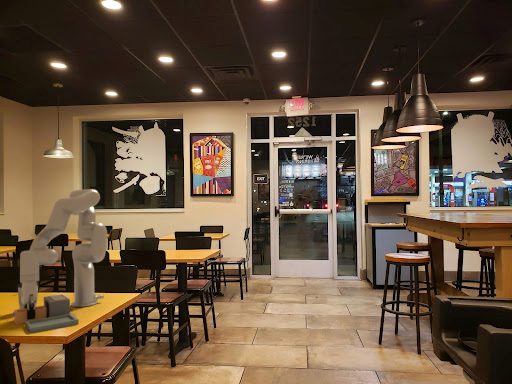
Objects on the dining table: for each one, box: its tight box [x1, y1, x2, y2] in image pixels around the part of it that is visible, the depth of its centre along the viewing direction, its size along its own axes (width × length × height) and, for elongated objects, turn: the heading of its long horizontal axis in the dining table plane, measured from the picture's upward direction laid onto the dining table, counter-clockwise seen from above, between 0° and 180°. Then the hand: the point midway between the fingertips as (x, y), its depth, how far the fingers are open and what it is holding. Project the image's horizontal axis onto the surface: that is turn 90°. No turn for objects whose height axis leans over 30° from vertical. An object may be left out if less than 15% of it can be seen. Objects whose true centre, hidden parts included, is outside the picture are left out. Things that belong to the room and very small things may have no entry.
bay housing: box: [43, 294, 71, 318], centre depth 183 cm, size 16×8×8 cm, turn 38°
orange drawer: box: [12, 305, 47, 325], centre depth 176 cm, size 13×7×5 cm, turn 125°
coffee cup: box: [17, 281, 39, 309], centre depth 192 cm, size 9×9×15 cm
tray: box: [25, 313, 80, 334], centre depth 166 cm, size 18×13×2 cm
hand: (29, 316), depth 176 cm, fingers open, 8 cm apart
